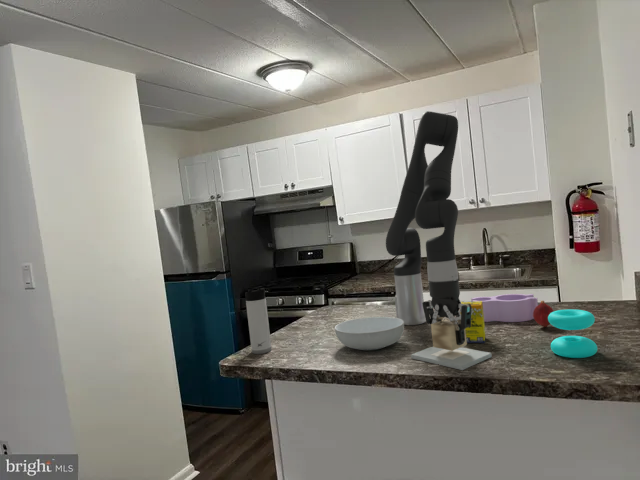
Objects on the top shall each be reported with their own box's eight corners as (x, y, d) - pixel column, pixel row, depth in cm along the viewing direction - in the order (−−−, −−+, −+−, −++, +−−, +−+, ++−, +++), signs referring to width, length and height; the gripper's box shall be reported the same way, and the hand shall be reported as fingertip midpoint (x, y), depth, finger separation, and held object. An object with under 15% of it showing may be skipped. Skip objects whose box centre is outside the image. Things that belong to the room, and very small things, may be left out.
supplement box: (462, 343, 128) (459, 305, 127) (464, 337, 133) (460, 301, 133) (485, 343, 126) (481, 304, 125) (486, 337, 131) (482, 300, 131)
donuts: (597, 309, 110) (590, 318, 103) (601, 349, 111) (593, 361, 103) (552, 307, 117) (542, 316, 109) (556, 345, 117) (546, 357, 110)
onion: (558, 329, 132) (555, 301, 131) (537, 330, 133) (534, 303, 132) (552, 324, 137) (550, 298, 137) (532, 325, 138) (529, 299, 138)
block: (433, 347, 117) (430, 324, 117) (447, 341, 121) (445, 319, 121) (452, 350, 112) (449, 326, 112) (466, 344, 116) (464, 321, 116)
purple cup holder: (474, 324, 148) (472, 303, 148) (472, 315, 160) (470, 296, 160) (541, 321, 143) (539, 299, 143) (533, 312, 155) (531, 292, 155)
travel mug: (264, 354, 139) (256, 290, 138) (247, 353, 142) (240, 290, 142) (276, 348, 144) (269, 286, 143) (260, 347, 148) (253, 287, 147)
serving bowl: (420, 340, 136) (417, 318, 135) (377, 361, 121) (374, 335, 121) (366, 334, 150) (363, 313, 150) (322, 351, 135) (319, 329, 135)
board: (411, 358, 120) (411, 354, 120) (440, 347, 127) (440, 343, 127) (462, 370, 107) (461, 365, 107) (491, 356, 114) (491, 352, 114)
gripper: (412, 279, 120) (418, 341, 120) (457, 281, 108) (464, 350, 109) (430, 275, 124) (437, 335, 125) (476, 276, 112) (482, 342, 113)
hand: (449, 342), depth 117 cm, fingers closed on block, 6 cm apart
